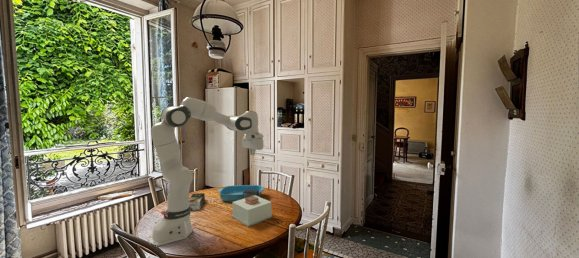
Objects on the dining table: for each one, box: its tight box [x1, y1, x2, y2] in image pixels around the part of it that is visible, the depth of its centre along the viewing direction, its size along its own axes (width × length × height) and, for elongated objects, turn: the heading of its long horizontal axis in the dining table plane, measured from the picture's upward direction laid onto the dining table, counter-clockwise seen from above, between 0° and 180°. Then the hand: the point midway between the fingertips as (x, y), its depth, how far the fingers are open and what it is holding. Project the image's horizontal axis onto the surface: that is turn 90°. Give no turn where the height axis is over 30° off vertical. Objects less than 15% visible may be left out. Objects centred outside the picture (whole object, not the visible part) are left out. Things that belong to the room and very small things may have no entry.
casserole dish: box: [217, 184, 265, 202], centre depth 188 cm, size 37×22×7 cm, turn 91°
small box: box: [243, 190, 259, 199], centre depth 173 cm, size 11×6×10 cm, turn 84°
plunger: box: [245, 196, 259, 205], centre depth 152 cm, size 6×6×12 cm
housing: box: [231, 195, 273, 227], centre depth 152 cm, size 19×19×10 cm
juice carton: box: [189, 192, 206, 211], centre depth 173 cm, size 20×10×6 cm, turn 10°
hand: (252, 155), depth 159 cm, fingers closed
